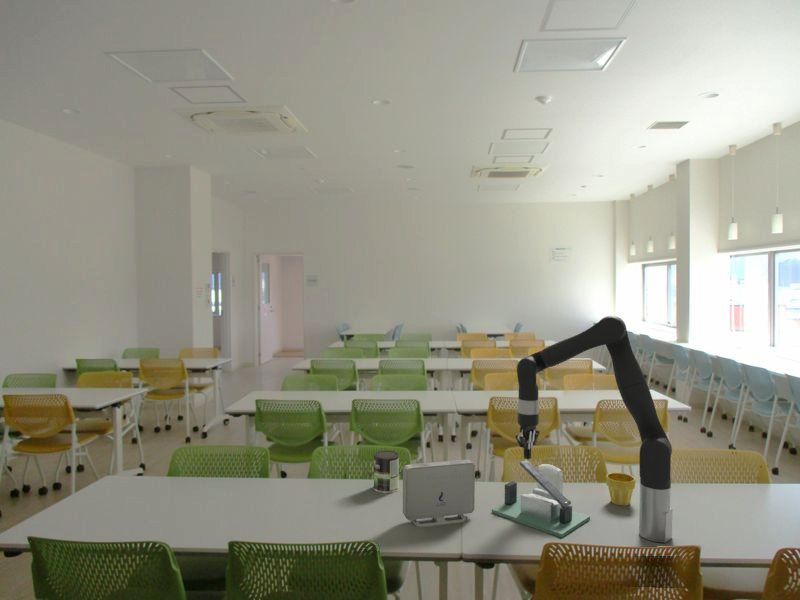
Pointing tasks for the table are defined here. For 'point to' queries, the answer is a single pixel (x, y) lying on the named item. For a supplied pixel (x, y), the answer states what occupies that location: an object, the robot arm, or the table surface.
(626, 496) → the plant pot
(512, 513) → the mainboard
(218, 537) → the table surface
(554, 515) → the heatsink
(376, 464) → the coffee can
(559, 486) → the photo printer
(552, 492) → the grey flat bar
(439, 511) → the network device
